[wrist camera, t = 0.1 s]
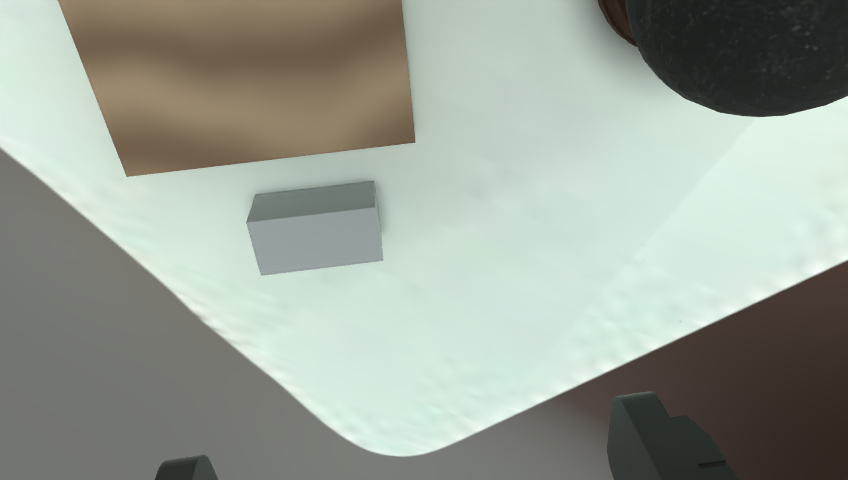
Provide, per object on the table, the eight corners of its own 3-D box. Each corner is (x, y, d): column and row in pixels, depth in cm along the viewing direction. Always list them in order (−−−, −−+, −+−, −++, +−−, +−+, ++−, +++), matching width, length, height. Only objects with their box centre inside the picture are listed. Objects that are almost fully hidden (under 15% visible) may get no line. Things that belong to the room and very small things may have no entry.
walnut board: (40, -82, 30) (26, -81, 29) (387, -118, 31) (389, -118, 29) (134, 166, 37) (126, 176, 36) (413, 133, 38) (415, 142, 37)
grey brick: (255, 193, 39) (246, 222, 36) (373, 179, 40) (375, 207, 36) (269, 243, 41) (261, 275, 38) (380, 230, 42) (383, 260, 38)
